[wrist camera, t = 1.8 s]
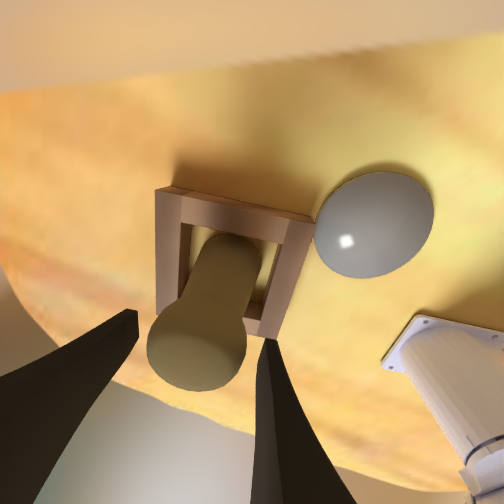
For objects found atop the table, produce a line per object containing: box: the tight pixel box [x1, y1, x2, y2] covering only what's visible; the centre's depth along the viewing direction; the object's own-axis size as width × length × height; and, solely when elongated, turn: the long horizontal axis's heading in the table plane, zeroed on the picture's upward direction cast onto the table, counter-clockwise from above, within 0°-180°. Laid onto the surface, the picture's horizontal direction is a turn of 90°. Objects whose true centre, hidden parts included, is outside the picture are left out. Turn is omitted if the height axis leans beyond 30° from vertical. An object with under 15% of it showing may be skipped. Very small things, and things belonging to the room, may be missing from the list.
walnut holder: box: [155, 186, 317, 340], centre depth 18 cm, size 12×12×2 cm
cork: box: [147, 233, 261, 392], centre depth 14 cm, size 6×6×11 cm
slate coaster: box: [313, 172, 434, 279], centre depth 16 cm, size 9×9×1 cm
